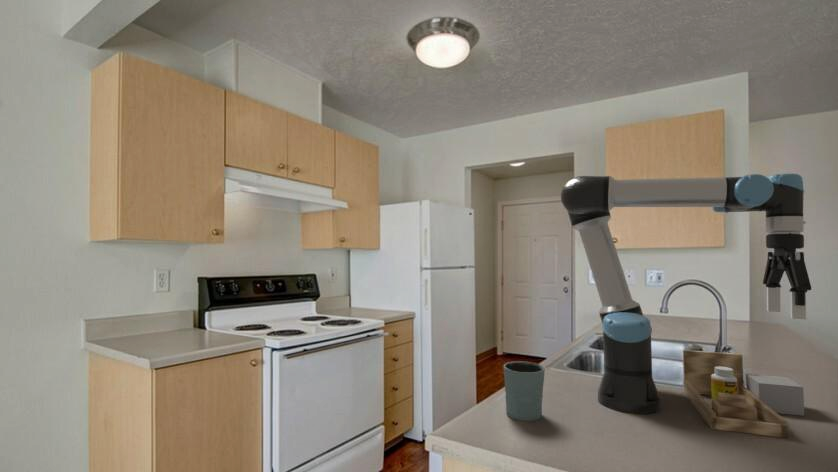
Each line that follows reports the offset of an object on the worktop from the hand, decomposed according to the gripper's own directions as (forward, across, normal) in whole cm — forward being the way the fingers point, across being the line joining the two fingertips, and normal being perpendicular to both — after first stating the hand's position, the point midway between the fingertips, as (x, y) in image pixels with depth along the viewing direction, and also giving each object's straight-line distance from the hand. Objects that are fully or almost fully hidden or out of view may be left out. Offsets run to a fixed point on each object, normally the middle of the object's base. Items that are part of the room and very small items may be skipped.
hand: (785, 315), depth 109 cm
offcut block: (+20, -17, +17) cm, 31 cm away
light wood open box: (+24, -8, +15) cm, 29 cm away
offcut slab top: (+22, -17, +16) cm, 32 cm away
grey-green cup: (+26, -27, +63) cm, 73 cm away
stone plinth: (+24, 0, +3) cm, 24 cm away
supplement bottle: (+25, -5, +15) cm, 29 cm away
